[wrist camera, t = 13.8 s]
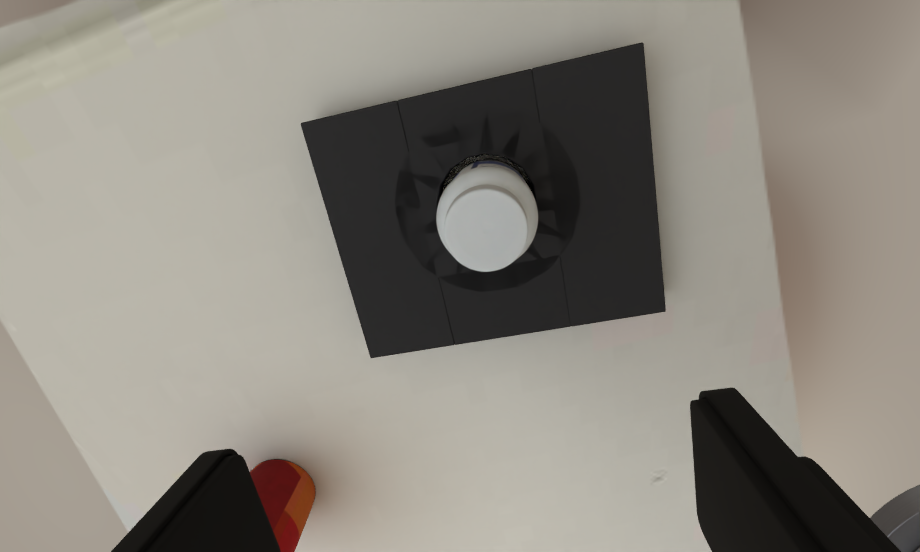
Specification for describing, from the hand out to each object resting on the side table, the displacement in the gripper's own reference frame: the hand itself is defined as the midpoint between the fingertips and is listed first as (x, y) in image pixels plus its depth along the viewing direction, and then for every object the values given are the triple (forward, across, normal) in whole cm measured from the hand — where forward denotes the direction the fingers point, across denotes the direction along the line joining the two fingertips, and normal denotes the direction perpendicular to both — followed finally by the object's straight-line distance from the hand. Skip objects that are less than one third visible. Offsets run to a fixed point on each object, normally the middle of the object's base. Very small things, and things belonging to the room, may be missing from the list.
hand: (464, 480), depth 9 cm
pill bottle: (+23, 0, -2) cm, 23 cm away
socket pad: (+23, 0, -1) cm, 23 cm away
